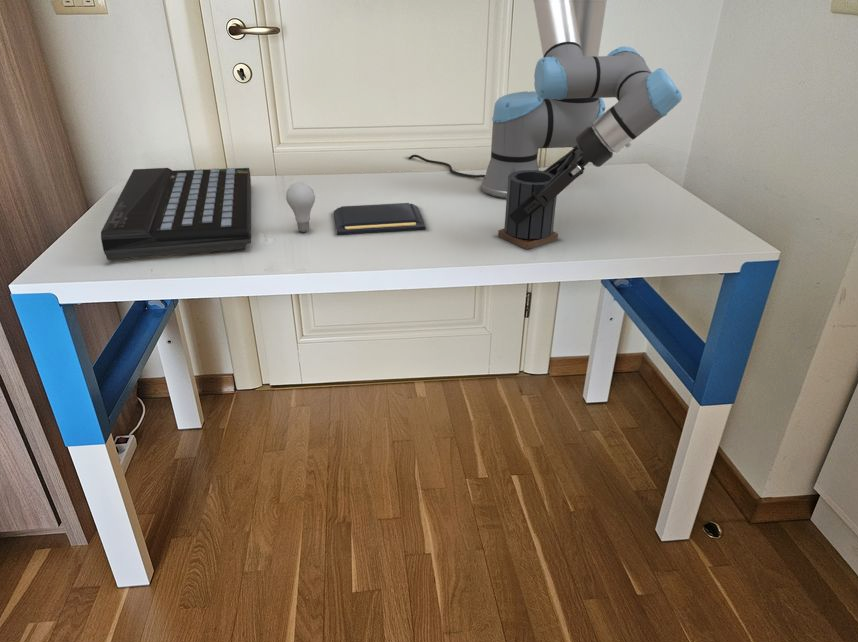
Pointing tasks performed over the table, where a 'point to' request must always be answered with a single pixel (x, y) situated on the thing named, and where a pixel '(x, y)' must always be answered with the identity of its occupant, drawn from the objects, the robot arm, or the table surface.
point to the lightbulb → (301, 203)
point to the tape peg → (527, 242)
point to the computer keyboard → (179, 213)
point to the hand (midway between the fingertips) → (516, 210)
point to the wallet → (378, 218)
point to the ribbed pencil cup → (518, 193)
